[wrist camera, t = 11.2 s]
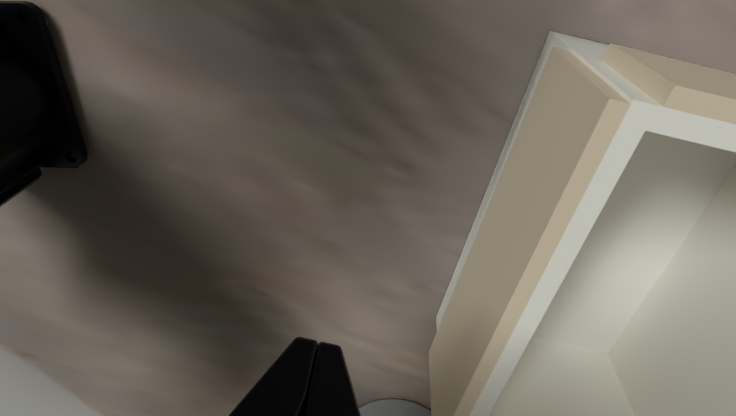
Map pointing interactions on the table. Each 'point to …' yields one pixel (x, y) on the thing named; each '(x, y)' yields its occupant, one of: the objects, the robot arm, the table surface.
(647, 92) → the storage box
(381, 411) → the lotion bottle
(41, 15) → the robot arm
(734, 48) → the table surface
